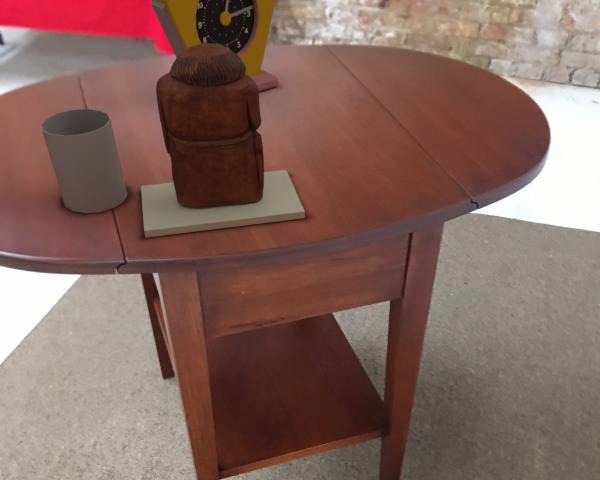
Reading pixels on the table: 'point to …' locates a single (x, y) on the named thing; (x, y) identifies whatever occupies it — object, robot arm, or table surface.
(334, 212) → the table surface
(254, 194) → the wooden figurine
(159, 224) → the mat
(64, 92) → the table surface
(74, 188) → the cup
